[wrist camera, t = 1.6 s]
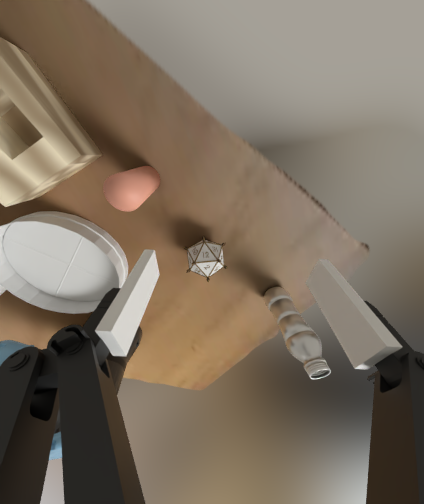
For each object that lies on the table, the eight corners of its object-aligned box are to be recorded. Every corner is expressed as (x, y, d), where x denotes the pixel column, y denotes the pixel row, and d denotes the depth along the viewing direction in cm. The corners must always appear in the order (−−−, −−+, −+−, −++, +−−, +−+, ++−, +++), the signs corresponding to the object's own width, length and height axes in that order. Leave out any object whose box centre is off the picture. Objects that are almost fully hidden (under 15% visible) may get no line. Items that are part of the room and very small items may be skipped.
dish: (106, 309, 44) (97, 326, 40) (0, 271, 35) (-26, 288, 31) (146, 250, 36) (140, 263, 32) (22, 183, 27) (-9, 189, 23)
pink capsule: (146, 194, 30) (121, 217, 20) (130, 173, 28) (94, 185, 18) (164, 183, 29) (149, 201, 19) (150, 161, 27) (125, 166, 17)
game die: (207, 246, 41) (212, 287, 37) (175, 240, 36) (177, 287, 32) (232, 230, 34) (240, 277, 31) (197, 220, 29) (202, 275, 26)
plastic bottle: (259, 287, 45) (300, 371, 28) (284, 280, 44) (341, 361, 27) (263, 303, 48) (301, 386, 31) (286, 296, 48) (337, 377, 30)
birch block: (39, 197, 28) (5, 207, 23) (-47, 116, 22) (-118, 106, 17) (103, 154, 26) (81, 155, 21) (27, 53, 20) (-29, 19, 15)
